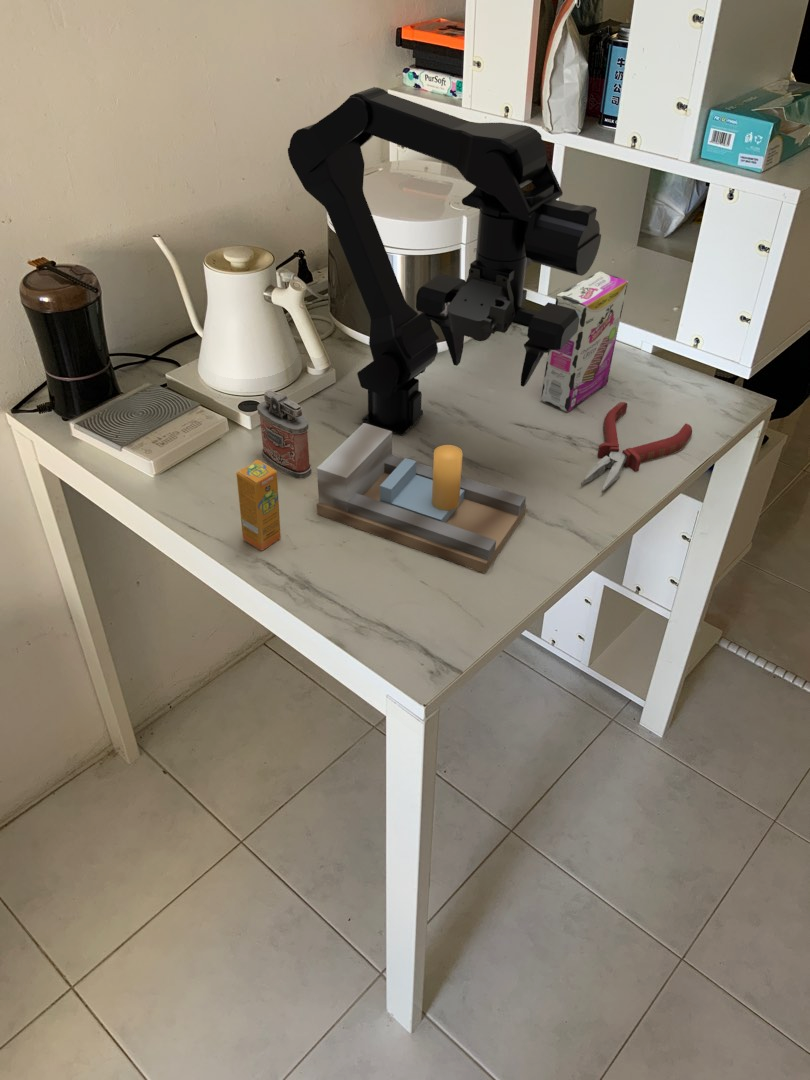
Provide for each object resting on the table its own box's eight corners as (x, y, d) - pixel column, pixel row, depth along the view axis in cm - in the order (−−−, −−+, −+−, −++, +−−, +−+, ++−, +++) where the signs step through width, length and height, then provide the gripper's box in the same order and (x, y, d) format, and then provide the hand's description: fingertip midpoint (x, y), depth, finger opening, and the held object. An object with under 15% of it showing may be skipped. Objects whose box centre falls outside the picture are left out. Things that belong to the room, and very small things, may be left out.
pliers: (549, 479, 112) (552, 462, 111) (616, 412, 125) (619, 396, 123) (632, 512, 107) (636, 495, 106) (693, 439, 120) (697, 423, 118)
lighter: (256, 456, 114) (248, 390, 108) (276, 446, 116) (269, 379, 110) (297, 482, 110) (292, 414, 104) (317, 471, 112) (313, 403, 106)
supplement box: (263, 553, 100) (254, 482, 93) (242, 540, 101) (232, 470, 95) (284, 539, 102) (277, 468, 95) (263, 526, 103) (255, 457, 97)
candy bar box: (568, 414, 123) (586, 305, 113) (539, 402, 126) (553, 294, 115) (610, 384, 130) (630, 279, 119) (581, 373, 132) (598, 268, 122)
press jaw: (379, 508, 104) (379, 449, 98) (404, 480, 108) (406, 422, 103) (445, 530, 101) (448, 471, 95) (468, 500, 105) (473, 442, 100)
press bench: (317, 514, 105) (314, 470, 101) (366, 463, 113) (365, 420, 109) (485, 573, 98) (489, 528, 94) (524, 514, 106) (530, 470, 102)
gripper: (392, 256, 96) (391, 381, 106) (549, 298, 89) (531, 427, 99) (442, 224, 103) (435, 344, 113) (590, 261, 96) (569, 385, 106)
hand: (489, 374), depth 108 cm, fingers open, 9 cm apart
